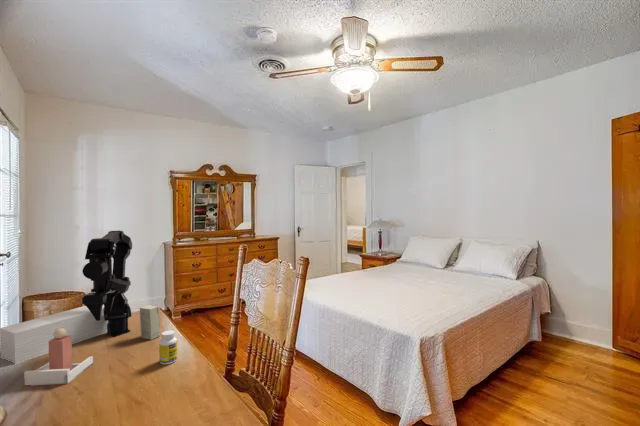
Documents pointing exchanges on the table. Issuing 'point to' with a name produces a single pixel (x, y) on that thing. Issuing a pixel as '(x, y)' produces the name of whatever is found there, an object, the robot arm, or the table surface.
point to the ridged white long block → (48, 333)
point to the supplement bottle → (168, 348)
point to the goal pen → (56, 374)
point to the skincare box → (150, 322)
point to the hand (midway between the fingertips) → (103, 316)
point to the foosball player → (60, 350)
